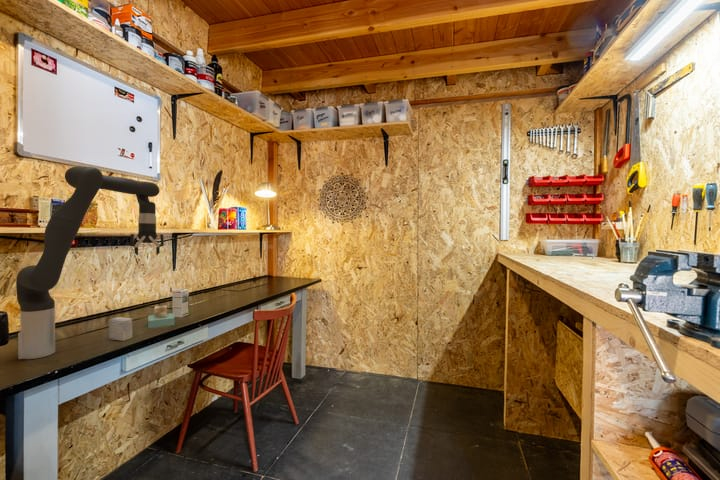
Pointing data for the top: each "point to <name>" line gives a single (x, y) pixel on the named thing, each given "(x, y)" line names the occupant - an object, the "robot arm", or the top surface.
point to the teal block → (161, 321)
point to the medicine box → (120, 328)
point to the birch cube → (160, 312)
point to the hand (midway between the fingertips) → (147, 254)
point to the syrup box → (181, 302)
